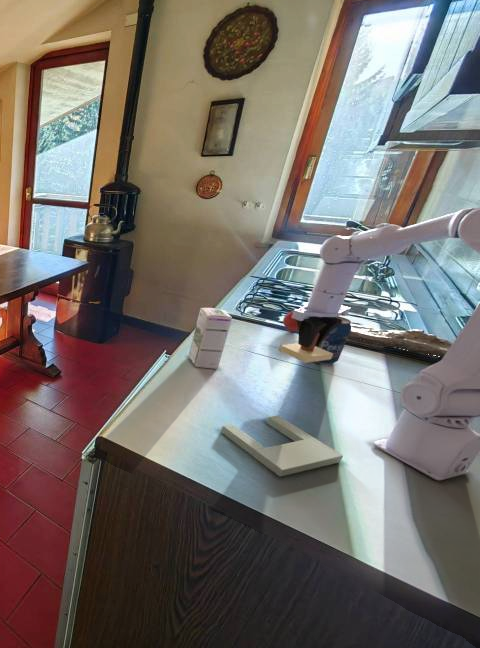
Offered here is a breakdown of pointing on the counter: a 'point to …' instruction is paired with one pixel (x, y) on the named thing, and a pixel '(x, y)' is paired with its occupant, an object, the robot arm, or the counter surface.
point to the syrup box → (209, 337)
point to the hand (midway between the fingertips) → (308, 345)
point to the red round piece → (290, 322)
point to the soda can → (336, 341)
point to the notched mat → (285, 449)
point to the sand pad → (306, 352)
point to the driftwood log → (402, 340)
